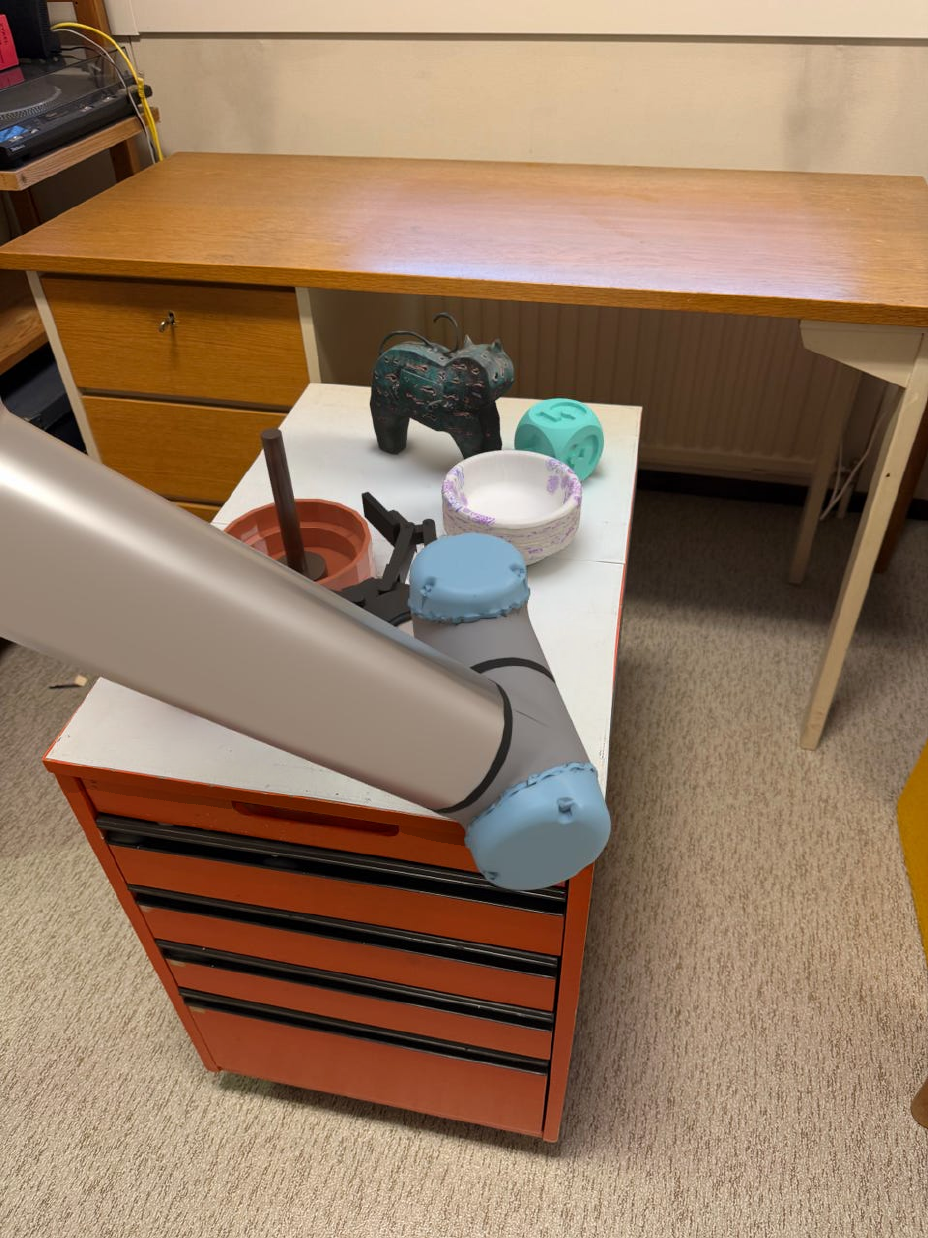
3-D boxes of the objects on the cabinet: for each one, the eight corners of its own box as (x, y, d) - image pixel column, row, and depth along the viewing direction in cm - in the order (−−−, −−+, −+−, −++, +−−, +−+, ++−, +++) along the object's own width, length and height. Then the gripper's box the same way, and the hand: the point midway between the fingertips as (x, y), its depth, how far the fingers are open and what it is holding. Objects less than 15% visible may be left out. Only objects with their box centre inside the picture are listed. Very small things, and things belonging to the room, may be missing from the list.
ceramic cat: (517, 475, 111) (518, 319, 98) (488, 499, 107) (485, 340, 94) (395, 433, 120) (380, 286, 107) (364, 454, 116) (345, 304, 103)
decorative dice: (512, 469, 112) (513, 412, 106) (558, 447, 115) (560, 391, 110) (556, 495, 107) (559, 436, 102) (602, 471, 111) (607, 413, 105)
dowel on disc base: (275, 604, 92) (240, 453, 80) (270, 570, 97) (237, 423, 85) (332, 594, 93) (306, 443, 81) (324, 561, 98) (299, 413, 86)
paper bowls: (607, 547, 99) (612, 487, 93) (501, 603, 92) (501, 541, 87) (519, 490, 108) (519, 433, 103) (418, 537, 101) (413, 478, 96)
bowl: (229, 650, 88) (216, 604, 84) (222, 556, 100) (210, 512, 96) (388, 619, 91) (382, 573, 87) (362, 532, 103) (357, 488, 99)
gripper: (273, 748, 69) (187, 603, 83) (536, 629, 78) (418, 516, 92) (255, 680, 64) (166, 538, 78) (537, 561, 73) (413, 453, 87)
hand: (302, 526), depth 85 cm, fingers open, 13 cm apart
